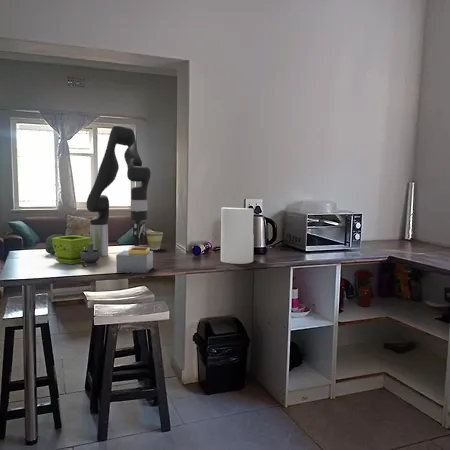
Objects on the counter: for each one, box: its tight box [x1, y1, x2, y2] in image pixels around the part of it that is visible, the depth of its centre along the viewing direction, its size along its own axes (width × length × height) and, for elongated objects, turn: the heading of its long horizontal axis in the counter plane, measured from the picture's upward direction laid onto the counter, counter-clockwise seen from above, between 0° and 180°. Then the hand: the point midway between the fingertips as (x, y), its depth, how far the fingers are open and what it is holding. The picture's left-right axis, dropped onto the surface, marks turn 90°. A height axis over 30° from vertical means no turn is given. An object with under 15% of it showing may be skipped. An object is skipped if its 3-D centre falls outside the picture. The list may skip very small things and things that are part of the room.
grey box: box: [115, 246, 154, 274], centre depth 209 cm, size 14×13×10 cm
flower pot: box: [52, 235, 91, 265], centre depth 225 cm, size 14×14×13 cm
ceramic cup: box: [145, 231, 164, 251], centre depth 271 cm, size 13×10×10 cm
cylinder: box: [220, 206, 255, 265], centre depth 235 cm, size 17×17×28 cm
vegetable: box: [45, 233, 65, 256], centre depth 247 cm, size 12×13×15 cm
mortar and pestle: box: [80, 242, 101, 267], centre depth 218 cm, size 11×9×12 cm
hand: (139, 244), depth 208 cm, fingers open, 8 cm apart
